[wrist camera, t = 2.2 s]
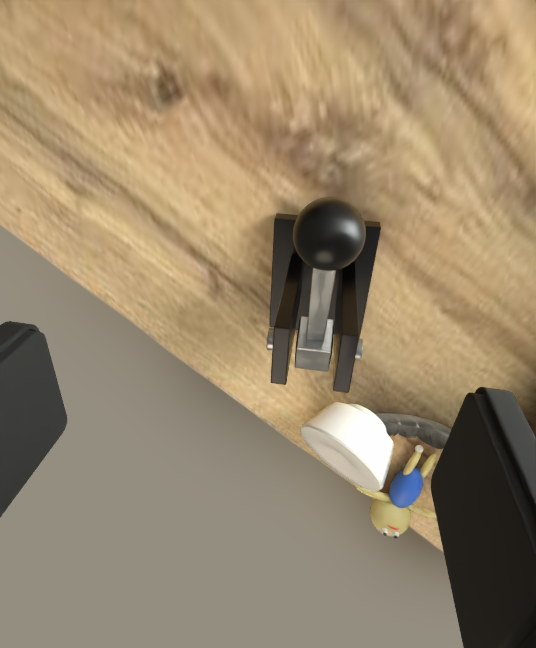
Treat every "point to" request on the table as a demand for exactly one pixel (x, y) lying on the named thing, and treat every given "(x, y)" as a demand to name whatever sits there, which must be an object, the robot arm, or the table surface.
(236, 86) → the table surface
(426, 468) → the toy figure
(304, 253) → the lever
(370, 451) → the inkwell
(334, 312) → the lever bracket
